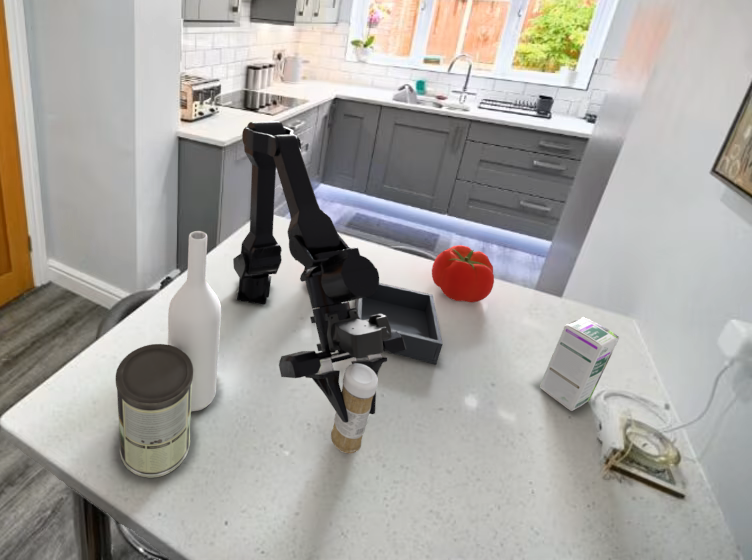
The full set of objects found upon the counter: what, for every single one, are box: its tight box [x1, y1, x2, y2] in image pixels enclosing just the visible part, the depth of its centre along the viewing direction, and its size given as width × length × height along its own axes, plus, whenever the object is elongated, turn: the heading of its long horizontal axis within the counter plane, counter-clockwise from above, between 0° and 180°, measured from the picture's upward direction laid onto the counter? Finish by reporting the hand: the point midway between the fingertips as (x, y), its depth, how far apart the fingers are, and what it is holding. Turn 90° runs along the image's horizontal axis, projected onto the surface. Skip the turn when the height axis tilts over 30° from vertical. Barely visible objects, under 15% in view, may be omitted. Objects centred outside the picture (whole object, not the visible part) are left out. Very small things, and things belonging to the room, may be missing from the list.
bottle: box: [167, 230, 222, 412], centre depth 67 cm, size 8×8×30 cm
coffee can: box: [115, 343, 193, 479], centre depth 61 cm, size 10×10×14 cm
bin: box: [354, 282, 444, 365], centre depth 90 cm, size 16×16×5 cm
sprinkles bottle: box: [330, 363, 379, 454], centre depth 63 cm, size 5×5×14 cm
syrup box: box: [539, 316, 620, 412], centre depth 75 cm, size 6×6×14 cm
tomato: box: [431, 244, 495, 303], centre depth 102 cm, size 14×13×10 cm
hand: (358, 418), depth 62 cm, fingers closed on sprinkles bottle, 4 cm apart
